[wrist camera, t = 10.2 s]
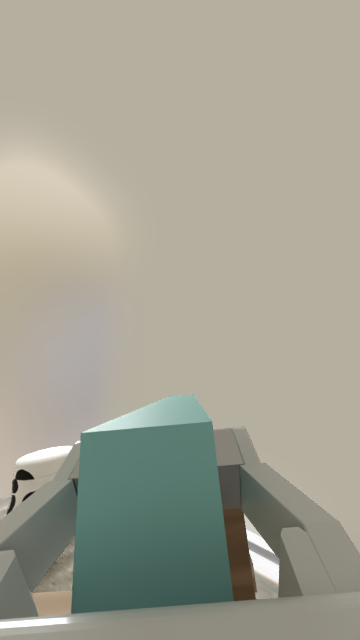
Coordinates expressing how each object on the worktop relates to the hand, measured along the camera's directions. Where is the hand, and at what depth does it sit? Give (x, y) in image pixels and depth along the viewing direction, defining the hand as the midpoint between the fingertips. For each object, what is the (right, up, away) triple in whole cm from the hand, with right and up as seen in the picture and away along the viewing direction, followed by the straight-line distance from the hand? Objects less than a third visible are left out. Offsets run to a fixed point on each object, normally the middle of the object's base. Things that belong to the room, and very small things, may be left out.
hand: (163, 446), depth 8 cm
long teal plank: (+1, -5, +9) cm, 10 cm away
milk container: (-37, -52, +49) cm, 80 cm away
